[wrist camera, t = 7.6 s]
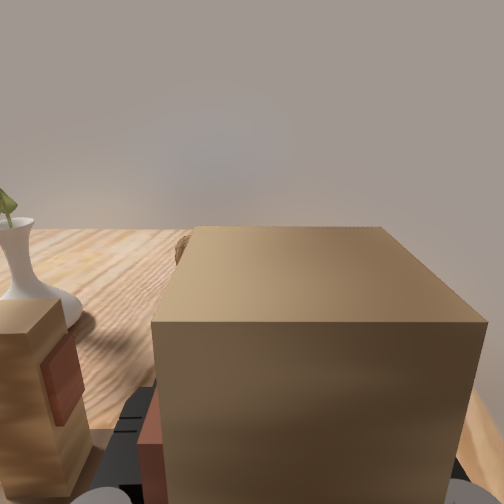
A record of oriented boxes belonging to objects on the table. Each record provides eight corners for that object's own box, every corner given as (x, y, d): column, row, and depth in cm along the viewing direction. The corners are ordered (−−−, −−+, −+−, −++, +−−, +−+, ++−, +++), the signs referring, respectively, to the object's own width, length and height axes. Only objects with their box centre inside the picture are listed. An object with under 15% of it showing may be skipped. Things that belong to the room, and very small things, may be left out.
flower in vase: (4, 312, 53) (-51, 119, 44) (92, 303, 55) (57, 116, 46) (-44, 372, 41) (-132, 122, 32) (71, 357, 43) (18, 118, 34)
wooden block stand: (-15, 551, 24) (-93, 352, 19) (41, 455, 30) (-6, 289, 25) (340, 539, 24) (356, 339, 19) (320, 446, 31) (328, 280, 26)
